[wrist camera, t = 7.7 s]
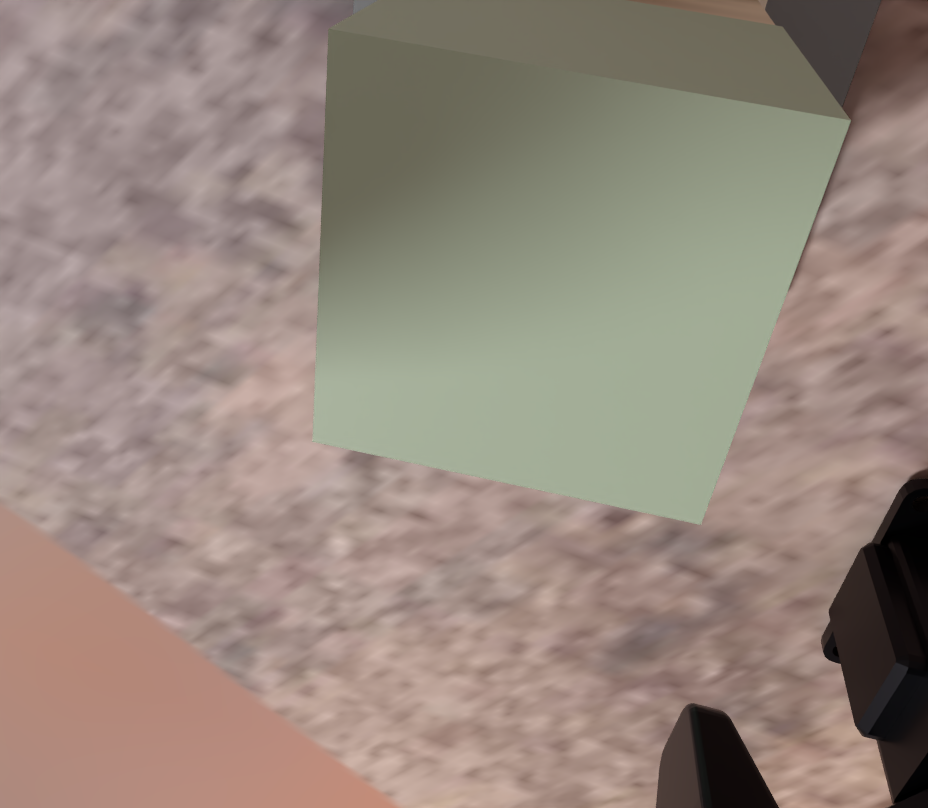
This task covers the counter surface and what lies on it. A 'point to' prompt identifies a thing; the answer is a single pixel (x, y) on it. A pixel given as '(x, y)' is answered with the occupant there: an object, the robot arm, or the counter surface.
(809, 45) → the grey base plate
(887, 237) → the counter surface
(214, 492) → the counter surface
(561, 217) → the green block
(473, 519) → the counter surface
